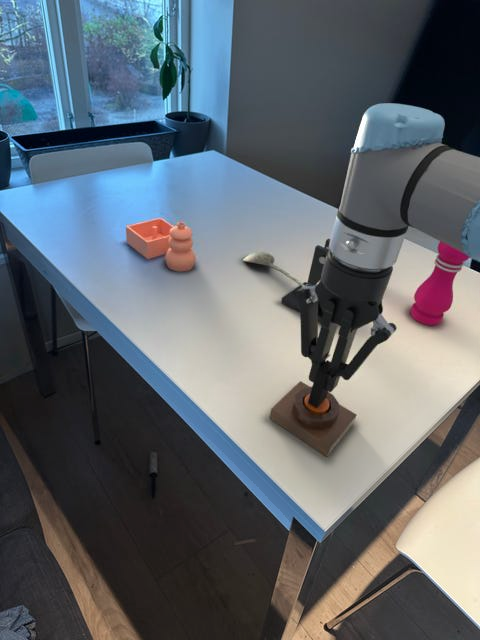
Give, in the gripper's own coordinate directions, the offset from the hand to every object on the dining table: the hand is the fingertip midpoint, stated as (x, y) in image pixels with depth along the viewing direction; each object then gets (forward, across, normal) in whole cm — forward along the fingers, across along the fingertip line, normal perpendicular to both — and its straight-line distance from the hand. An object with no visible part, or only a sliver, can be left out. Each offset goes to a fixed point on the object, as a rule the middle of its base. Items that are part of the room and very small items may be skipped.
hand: (317, 400), depth 64 cm
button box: (+5, 0, 0) cm, 5 cm away
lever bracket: (+5, -15, +27) cm, 31 cm away
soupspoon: (+4, -26, +29) cm, 40 cm away
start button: (+2, 0, 0) cm, 2 cm away
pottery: (+5, -51, +19) cm, 54 cm away
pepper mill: (+5, +3, +41) cm, 41 cm away
